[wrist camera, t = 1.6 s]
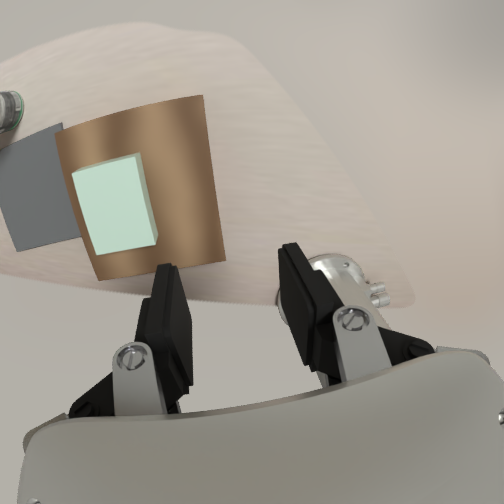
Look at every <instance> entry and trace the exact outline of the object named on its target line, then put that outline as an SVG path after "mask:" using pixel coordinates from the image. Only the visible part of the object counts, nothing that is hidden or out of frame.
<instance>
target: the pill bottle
mask: <svg viewBox="0 0 504 504" xmlns="http://www.w3.org/2000/svg"><path fill="white" fill-rule="evenodd" d="M23 107H24V104H23V99H22V97H21V95H20V94H19V93H18V92H16V91H1V92H0V133H3V132H6V131H9V130H11V129H13V128H14V127H15V126H16V125H17V124H18V123H19V121H20V119H21V117H22V114H23Z"/></svg>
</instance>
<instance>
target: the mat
mask: <svg viewBox="0 0 504 504" xmlns="http://www.w3.org/2000/svg"><path fill="white" fill-rule="evenodd" d="M61 130H63V125H62V123H59V124H56V125H54V126H51V127H49V128H46V129H44V130H41V131H39V132H37V133H35V134H32V135H30V136H28V137H26V138H24V139H21V140H19V141H17V142H15V143H13V144H11V145H9V146H7V147H5V148H3V149H1V150H0V207H1V210H2V213H3V216H4V219H5V222H6V225H7V228H8V230H9V233H10V236H11V238H12V241H13V243H14V246H15V248H16V251H17V252H19V251H23V250H26V249H30V248H34V247H38V246H42V245H47V244H51V243H55V242H59V241H64V240H68V239H72V238H77V237H81V233H80V230H79V227H78V224H77V221H76V218H75V215H74V212H73V209H72V205H71V202H70V198H69V195H68V191H67V188H66V184H65V180H64V176H63V172H62V168H61V164H60V159H59V155H58V150H57V145H56V140H55V135H54V133H56V132H59V131H61Z"/></svg>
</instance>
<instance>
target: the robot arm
mask: <svg viewBox="0 0 504 504" xmlns="http://www.w3.org/2000/svg"><path fill="white" fill-rule="evenodd" d="M278 259H279V280H280V291H279V294H278V303H277V305H278V309H279V313H280V315H281V318H282V319H283V321H284V322H285V323H286V324H287V325H288V326H289V327H290V330H291V333H292V335H293V338H294V340H295V343H296V345H297V348H298V351H299V353H300V356H301V359H302V362H303V364H304V366H306V365H309V367H310V370H311V372H315V371H316V372H317V375H318V377H319V380H320V382H321V385H322V387H323V388H322V389H318V390H314V391H310V392H306V393H302V394H298V395H294V396H289V397H285V398H281V399H275V400H271V401H265V402H261V403H255V404H249V405H243V406H237V407H231V408H224V409H217V410H208V411H200V412H190V413H181V409H180V406H179V402H178V400H179V398H181V397H182V396H183V395H185V394H189V386H193V357H192V319H191V314H190V311H189V307H188V304H187V301H186V297H185V294H184V290H183V286H182V283H181V279H180V276H179V272H178V268H177V266H176V265H175V266H172V264H171V263H165V264H159V265H157V269H156V274H155V279H154V283H153V288H152V294H151V297H150V298H144V299H143V301H142V305H141V310H140V315H139V319H138V325H137V330H136V335H135V340H134V342H131V343H128V344H126V345H124V346H122V347H120V349H118V350H117V351H116V353H115V355H114V357H113V362H112V366H113V372H111V373H110V374H109V375H107V376H106V377H105V378H104V379H102V380H101V381H100V382H99V383H98V384H96V385H95V386H94V387H92V388H91V389H90V390H89V391H87V392H86V393H85V394H84V395H82V396H81V397H80V398H79V399H77V400H76V401H75V402H74V403H73V404H72V406H71V408H70V411H69V414H68V415H66V414H65V413H62V414H60V415H59V416H57V417H55V418H53V419H51V420H49V421H47V422H45V423H43V424H42V425H40V426H38V427H36V428H34V429H32V430H30V431H29V432H28V433H27V434H26V435H25V437H24V440H23V448H24V452H25V456H24V460H23V465H22V469H21V474H20V481H19V488H18V498H17V504H504V382H503V380H502V379H501V377H500V376H499V375H498V374H497V373H496V371H495V370H494V369H493V368H492V367H491V366H490V362H489V360H488V358H487V356H486V355H485V354H483V353H482V352H480V351H476V350H467V349H458V348H449V347H440V346H437V348H436V349H433V347H432V346H431V345H430V344H429V343H428V342H426V341H424V340H422V339H419V338H415V337H412V336H408V335H405V334H402V333H399V332H395V331H392V329H391V328H390V327H389V325H388V324H387V323H386V321H385V320H384V318H383V317H382V315H381V314H380V313H379V311H378V310H377V309H376V308H380V307H383V306H387V305H389V303H390V297H389V295H388V293H387V292H384V293H381V294H377V295H374V296H372V297H371V294H373V293H379V292H382V291H385V284H384V282H378V283H374V284H372V285H369V284H366V282H365V277H364V273H363V272H362V270H361V268H360V267H359V266H358V264H357V263H356V262H354V261H353V260H352V259H351V258H348V257H346V256H343V255H338V254H327V255H322V256H318V257H315V258H312V259H310V260H307V258H306V257H305V255H304V254H303V252H302V250H301V249H300V247H299V246H298V244H297V243H296V242H295V243H289V244H283V245H282V248H280V249H278Z"/></svg>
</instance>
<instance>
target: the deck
mask: <svg viewBox="0 0 504 504" xmlns="http://www.w3.org/2000/svg"><path fill="white" fill-rule="evenodd" d="M54 135H55V140H56V145H57V150H58V155H59V159H60V164H61V168H62V172H63V176H64V180H65V184H66V188H67V191H68V195H69V198H70V202H71V205H72V209H73V212H74V215H75V218H76V221H77V224H78V227H79V230H80V233H81V236H82V239H83V242H84V245H85V247H86V250H87V253H88V255H89V258H90V261H91V263H92V266H93V268H94V271H95V273H96V276H97V278H98V281H103V280H109V279H115V278H122V277H128V276H134V275H140V274H147V273H153V272H156V269H157V265H159V264H165V263H171V264H172V266H175V265H176V266H177V268H184V267H190V266H197V265H203V264H209V263H215V262H221V261H226V257H225V250H224V244H223V238H222V231H221V225H220V218H219V211H218V204H217V198H216V191H215V184H214V177H213V169H212V162H211V155H210V147H209V140H208V132H207V124H206V116H205V108H204V99H203V95H196V96H190V97H184V98H179V99H173V100H168V101H163V102H158V103H154V104H149V105H145V106H140V107H136V108H132V109H128V110H124V111H121V112H117V113H113V114H110V115H106V116H103V117H100V118H97V119H93V120H90V121H87V122H84V123H81V124H78V125H75V126H72V127H70V128H67V129H64V130H61V131H59V132H56V133H54ZM135 153H140V155H141V160H142V165H143V170H144V175H145V180H146V185H147V189H148V194H149V198H150V203H151V207H152V211H153V215H154V220H155V224H156V228H157V232H158V238H157V241H156V245H151V246H145V247H139V248H134V249H128V250H123V251H117V252H112V253H106V254H101V255H96V252H95V249H94V246H93V244H92V241H91V238H90V235H89V232H88V229H87V226H86V223H85V220H84V216H83V213H82V210H81V206H80V203H79V200H78V196H77V192H76V189H75V185H74V181H73V177H72V173H73V172H75V171H76V170H78V169H80V168H82V167H86V166H89V165H92V164H96V163H100V162H103V161H107V160H111V159H115V158H119V157H123V156H127V155H131V154H135Z"/></svg>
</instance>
